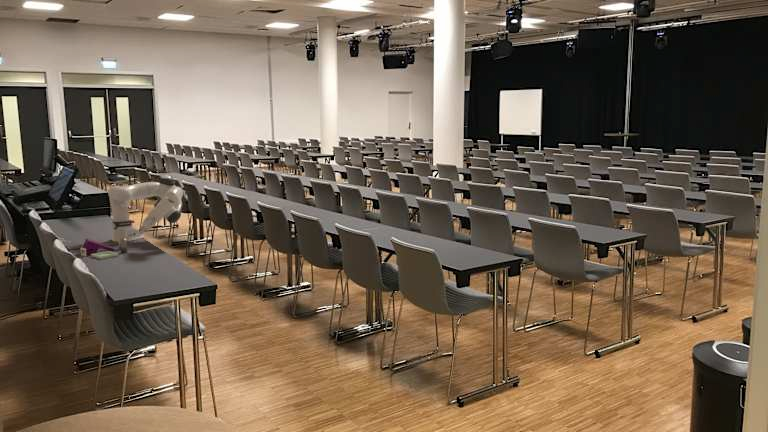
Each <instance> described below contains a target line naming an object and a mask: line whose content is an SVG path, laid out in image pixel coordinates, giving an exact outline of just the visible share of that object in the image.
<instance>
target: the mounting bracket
mask: <svg viewBox="0 0 768 432" xmlns="http://www.w3.org/2000/svg"><path fill="white" fill-rule="evenodd" d="M82 248H85V249H86V255H88V256H91V254H94V253H98V251H99V249H102V250H105V251H111V252H114V251H115V247H113V246H111V245H108V244H105V243H102V242H99V241H96V240H93V239H89V238H88V237H86V238H85V241H84V244H83V246H82Z"/></svg>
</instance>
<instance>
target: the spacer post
mask: <svg viewBox="0 0 768 432" xmlns="http://www.w3.org/2000/svg"><path fill="white" fill-rule="evenodd" d="M120 247H121V249H120V253H121V254H127V253H128V241H127V240H126V239H120Z"/></svg>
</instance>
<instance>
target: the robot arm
mask: <svg viewBox="0 0 768 432" xmlns="http://www.w3.org/2000/svg"><path fill="white" fill-rule="evenodd" d="M107 194H108V195H107V196H108V197H109V203H110V206H111V213H112V221H111V222H112V223H111V224H112V237H111V238H112V239H111V241H112V242H119V238H126V240H127V242H132V240H133V241H136V240H141V239H142V240H143V239H145V238H146V237H145V235H143V234H144V233H145V232H149V231H150V230H151V229H152V228H153V227H154V226H155V224H156V223H157V224H158V223H160V222H161V221H162V220H163V219H165V220H166V221H168V223H169V224H175V223H177V222H178V221H179V220H180V218H181V216H182V210H183V205H184V204H183V202H182V201H183V200H182V199H183V197H184V190H183V188H181V187H180V186H176V181H175V179H174V177H173V176H171V175H163V176H160V177H159V181H149V182H148V181H145V182H140V183H139V182H138V183H133V184H130V185H126V186H125V185H124V186H122V185H113V186H111V187H109V189H108V191H107ZM151 197H158V198H157V201H156V202H155V203H154V204H153V207H154V208H152V209H151V210H150V211H149V212H148V213H147V216H146V217H145V218H144V220H143V221H142V223H141V224H142V225H141V227H140V228H138V227H136V226H135V225H133V224H135V220H132V219H130V210H129V207H128V203H127V202H131V201H135V200H141V199H147V198H151Z"/></svg>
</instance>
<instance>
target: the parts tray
mask: <svg viewBox="0 0 768 432" xmlns="http://www.w3.org/2000/svg"><path fill="white" fill-rule="evenodd" d="M119 255H120V254H119V253H117V252H114V251H113V252H112V251H108V250H105V251H101V252H100V251H99V252H97V253H94V254H91V255H90V258H93V259H97V260H100V261H101V260H105V259H110V258H116V257H119Z"/></svg>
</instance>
